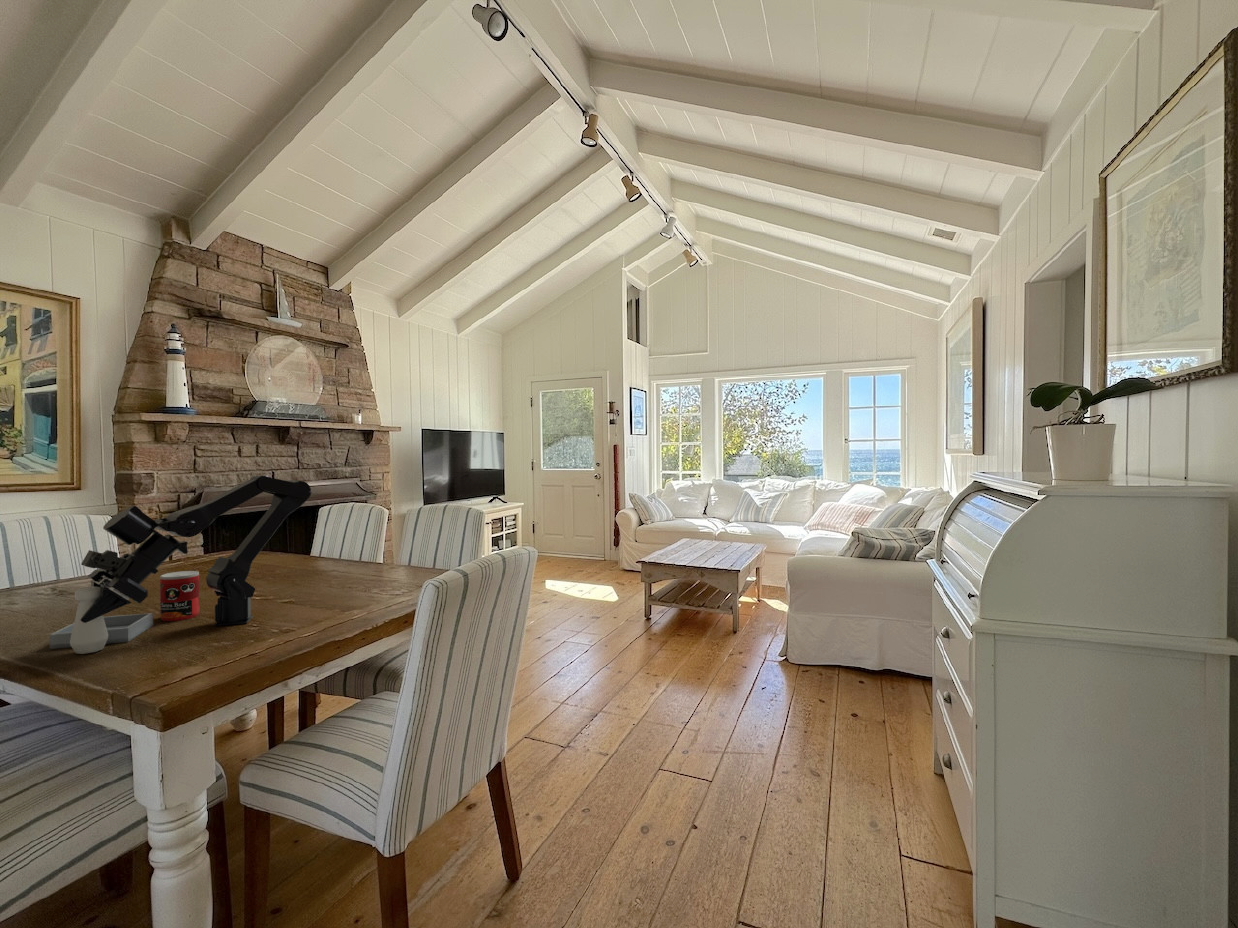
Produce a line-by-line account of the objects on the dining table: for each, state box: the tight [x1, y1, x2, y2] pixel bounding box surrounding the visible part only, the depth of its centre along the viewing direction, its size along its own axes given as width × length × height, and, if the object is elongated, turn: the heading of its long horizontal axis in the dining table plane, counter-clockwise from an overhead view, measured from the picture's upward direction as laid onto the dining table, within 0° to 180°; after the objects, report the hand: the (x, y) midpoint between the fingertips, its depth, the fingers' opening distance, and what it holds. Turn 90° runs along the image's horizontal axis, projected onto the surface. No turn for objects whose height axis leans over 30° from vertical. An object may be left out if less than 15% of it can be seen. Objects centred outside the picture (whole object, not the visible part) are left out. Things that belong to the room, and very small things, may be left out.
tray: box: [49, 612, 154, 650], centre depth 126 cm, size 13×13×3 cm
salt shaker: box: [70, 586, 108, 655], centre depth 116 cm, size 6×6×13 cm
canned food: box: [159, 570, 200, 622], centre depth 142 cm, size 8×8×11 cm
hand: (79, 620), depth 115 cm, fingers closed on salt shaker, 3 cm apart
